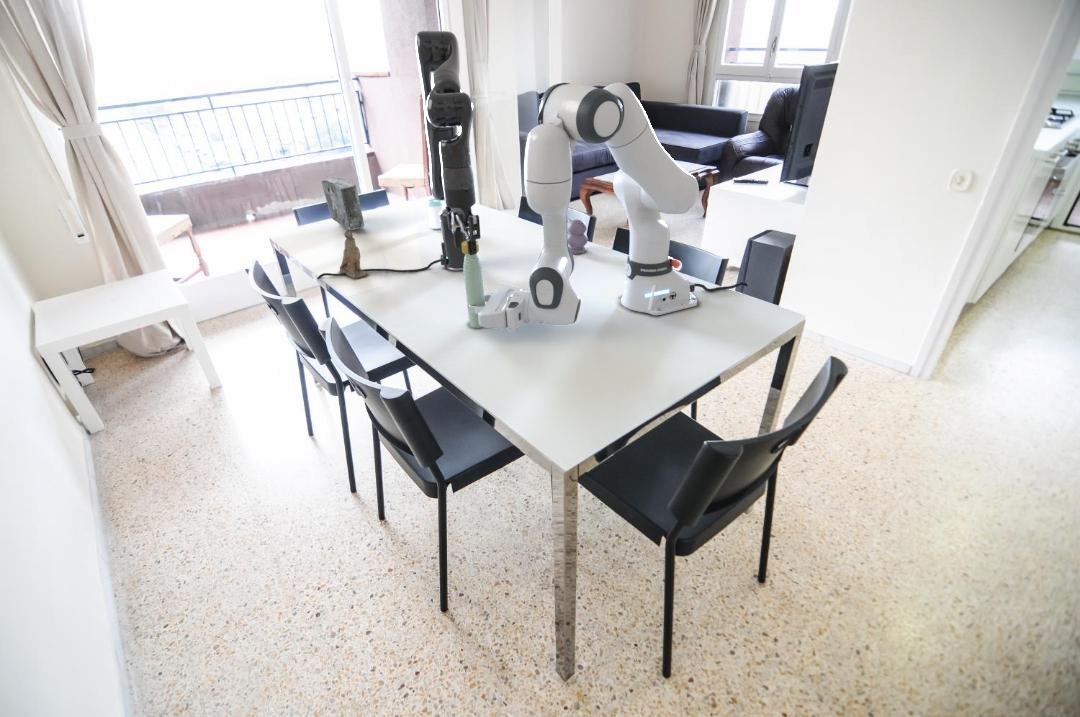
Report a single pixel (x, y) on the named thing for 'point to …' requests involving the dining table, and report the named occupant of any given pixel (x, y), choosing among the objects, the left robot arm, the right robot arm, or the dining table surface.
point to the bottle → (473, 286)
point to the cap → (465, 248)
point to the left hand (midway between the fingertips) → (466, 250)
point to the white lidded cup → (435, 213)
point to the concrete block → (343, 202)
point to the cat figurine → (577, 236)
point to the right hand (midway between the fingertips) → (473, 303)
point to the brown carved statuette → (351, 258)
